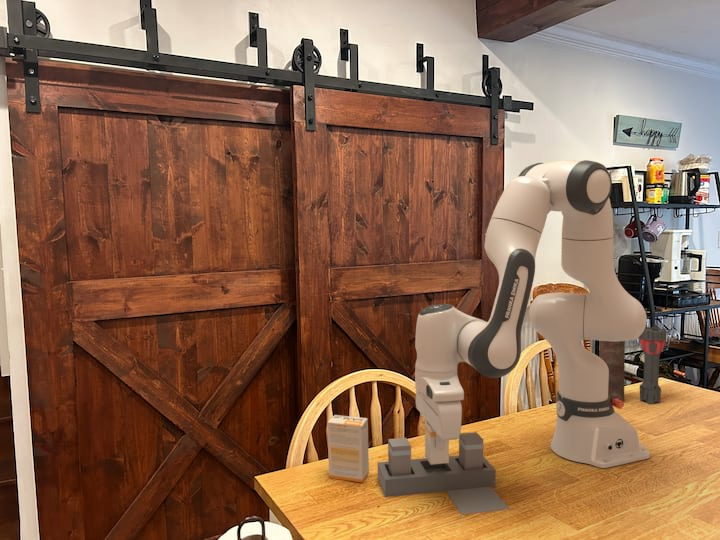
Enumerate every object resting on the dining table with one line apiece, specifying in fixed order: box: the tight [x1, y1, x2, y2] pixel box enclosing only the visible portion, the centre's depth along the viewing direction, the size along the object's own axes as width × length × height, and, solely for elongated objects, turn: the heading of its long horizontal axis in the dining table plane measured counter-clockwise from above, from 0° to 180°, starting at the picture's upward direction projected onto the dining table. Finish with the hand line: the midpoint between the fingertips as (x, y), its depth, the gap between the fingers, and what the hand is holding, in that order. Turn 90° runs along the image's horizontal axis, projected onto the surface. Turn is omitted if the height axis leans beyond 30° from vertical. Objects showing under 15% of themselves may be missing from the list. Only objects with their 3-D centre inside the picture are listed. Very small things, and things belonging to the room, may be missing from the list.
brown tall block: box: [598, 340, 626, 403], centre depth 165 cm, size 8×7×20 cm
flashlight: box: [637, 325, 667, 405], centre depth 165 cm, size 8×8×23 cm
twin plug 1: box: [387, 437, 412, 476], centre depth 113 cm, size 4×4×8 cm
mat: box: [445, 487, 510, 515], centre depth 107 cm, size 10×10×1 cm
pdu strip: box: [377, 454, 497, 498], centre depth 114 cm, size 24×8×4 cm, turn 99°
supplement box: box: [326, 414, 370, 484], centre depth 118 cm, size 8×5×13 cm, turn 71°
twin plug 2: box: [458, 431, 485, 470], centre depth 115 cm, size 4×4×8 cm
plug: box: [424, 420, 450, 465], centre depth 113 cm, size 4×4×8 cm
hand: (435, 443), depth 113 cm, fingers closed on plug, 4 cm apart
